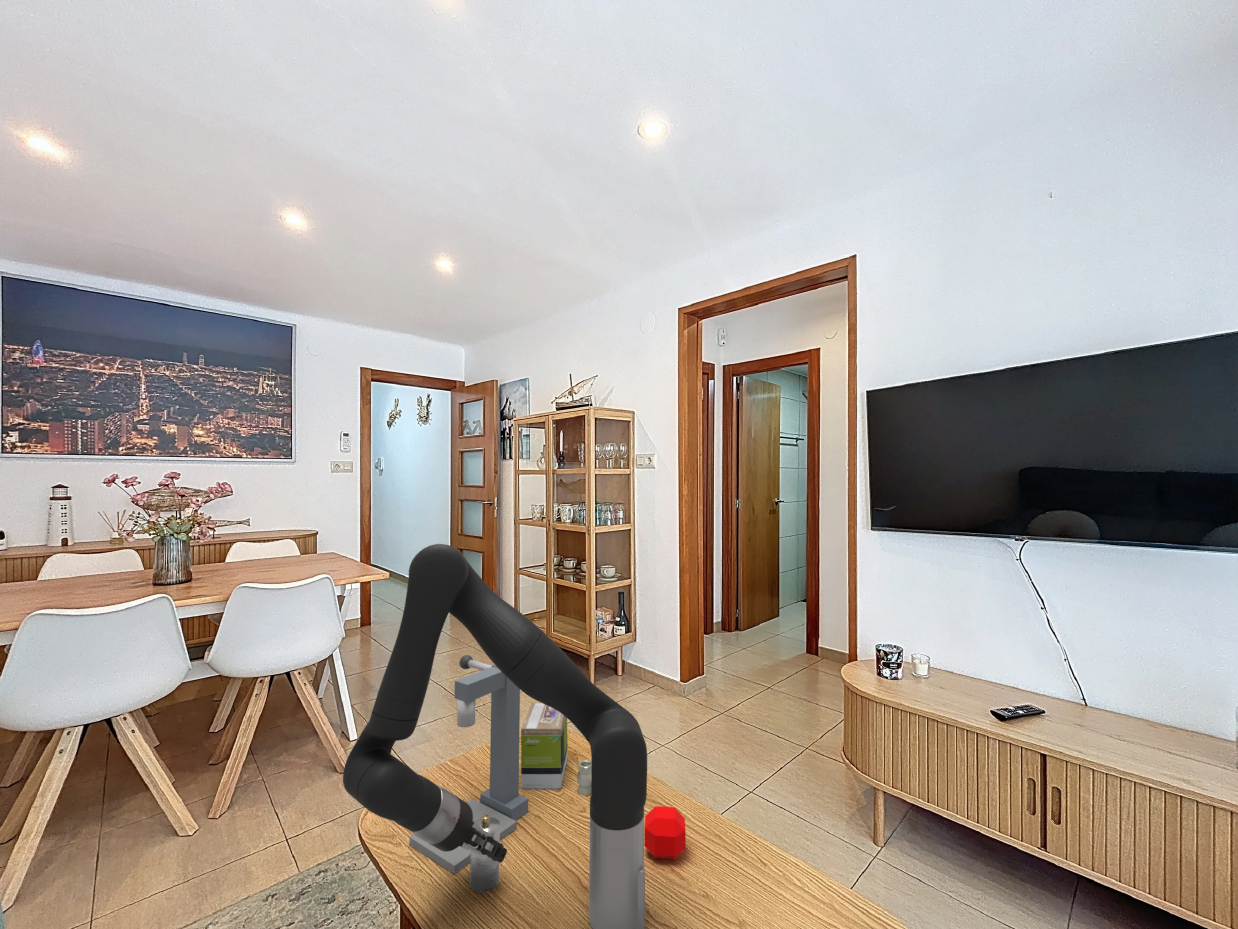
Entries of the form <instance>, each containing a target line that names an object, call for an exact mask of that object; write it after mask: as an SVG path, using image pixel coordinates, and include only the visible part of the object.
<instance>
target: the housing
mask: <svg viewBox="0 0 1238 929" xmlns="http://www.w3.org/2000/svg"><path fill="white" fill-rule="evenodd" d="M475 823H477V824H478V825H480V828H481V829H483V830H485V831H486V832H488V833H490V834H491V837H493V839H494V840H496V841H498V842H499V843H501V842H500V841H501V840H500V822H499V820H498V819H496V818H493V817H489V815H483V816H482V818H480V819H478V820H476V821H475ZM477 831H478V830H477ZM480 833H481V832H480ZM481 834H482V833H481ZM482 838H483V834H482ZM470 846H471V845H470ZM478 846H479V844H478ZM478 846H476V847H473V846H471V847H473V848H475V849H476V848H478ZM499 882H500V862H498V861H493V860H492V858H488V857H487V855H483V854H482V855H478V854H476V853H474V852H473V851H471V850H470V863H469V887H470V888H471V890H472V891H473V892H475V893H487V892H489V891H492V890H494V889H495V888H496V887H497V886H498V884H499Z"/></svg>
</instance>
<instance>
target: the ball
mask: <svg viewBox="0 0 1238 929" xmlns="http://www.w3.org/2000/svg"><path fill="white" fill-rule="evenodd" d="M686 831H687V830H686V818H685V817H684V816H683V815H682V814H681V812H680V811H679V810H678V809H677V808H676V807H675V806H661V805H659V806H658V805H655V806H654V807H653V808H651V810H650V811H648V813H647V814H645V815H644V848H645V849H646V850H648V852H649V853H650V854H651V855H652V856H653V857H654V858H656V859H667V858H670V859H669V860H676V858H677V857H678V856H679V855H682V854H681V853H683V852H684V851H685V850H686V841H687V840H686V833H687V832H686Z"/></svg>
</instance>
